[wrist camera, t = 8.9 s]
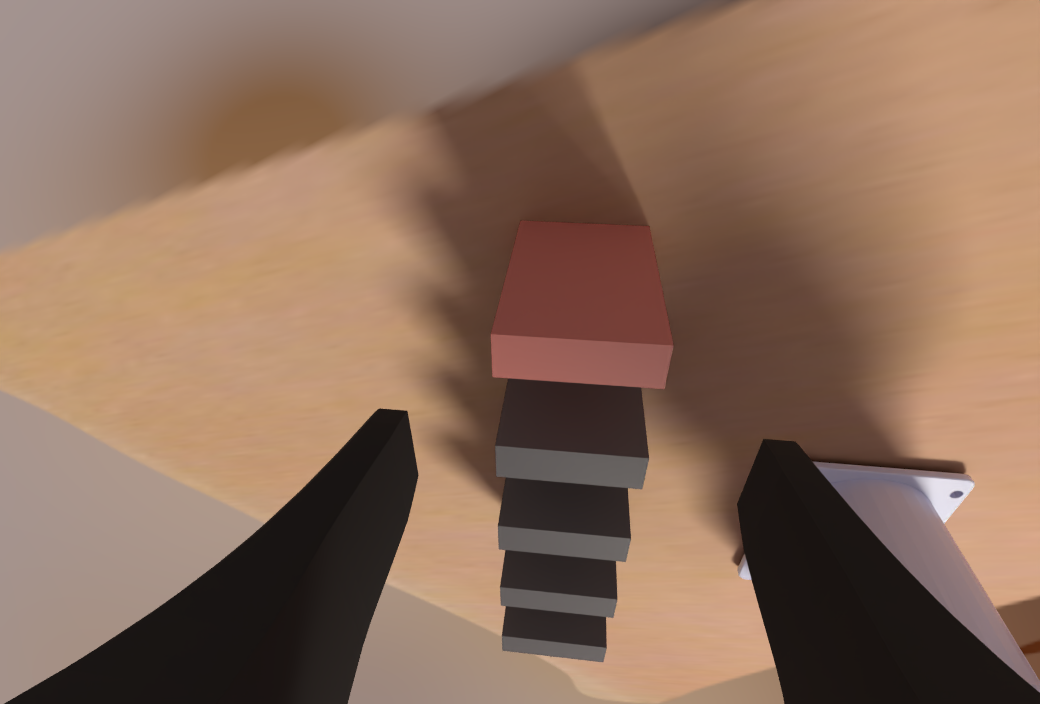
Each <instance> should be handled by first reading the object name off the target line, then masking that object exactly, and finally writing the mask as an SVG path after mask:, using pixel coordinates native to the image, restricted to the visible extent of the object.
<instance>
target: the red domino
mask: <svg viewBox="0 0 1040 704" xmlns="http://www.w3.org/2000/svg"><path fill="white" fill-rule="evenodd" d="M673 347H674V344H673V340H672V335H671V330H670V325H669V320H668V315H667V310H666V305H665V300H664V296H663V291H662V286H661V281H660V276H659V271H658V266H657V261H656V256H655V251H654V247H653V242H652V237H651V232H650V227H649V226H634V225H611V224H589V223H566V222H543V221H520V224H519V228H518V232H517V236H516V240H515V243H514V247H513V251H512V255H511V259H510V262H509V266H508V270H507V274H506V278H505V282H504V285H503V289H502V293H501V297H500V301H499V305H498V308H497V312H496V316H495V320H494V324H493V327H492V331H491V353H492V377H498V378H512V379H527V380H541V381H556V382H570V383H584V384H599V385H613V386H627V387H642V388H656V389H664V388H665V384H666V379H667V374H668V370H669V365H670V361H671V356H672V352H673Z"/></svg>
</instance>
